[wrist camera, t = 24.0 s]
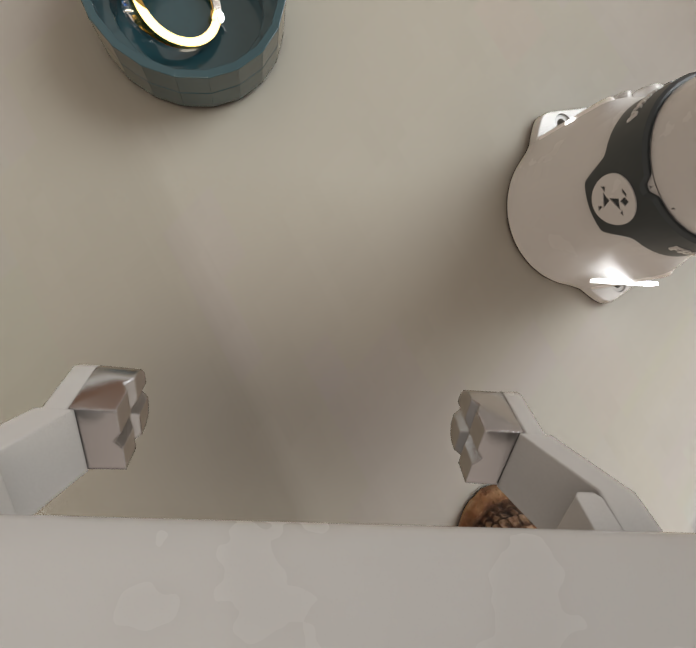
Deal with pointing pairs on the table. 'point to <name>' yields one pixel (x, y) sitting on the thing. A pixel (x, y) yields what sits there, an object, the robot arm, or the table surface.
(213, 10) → the ring
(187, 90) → the bowl
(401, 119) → the table surface
